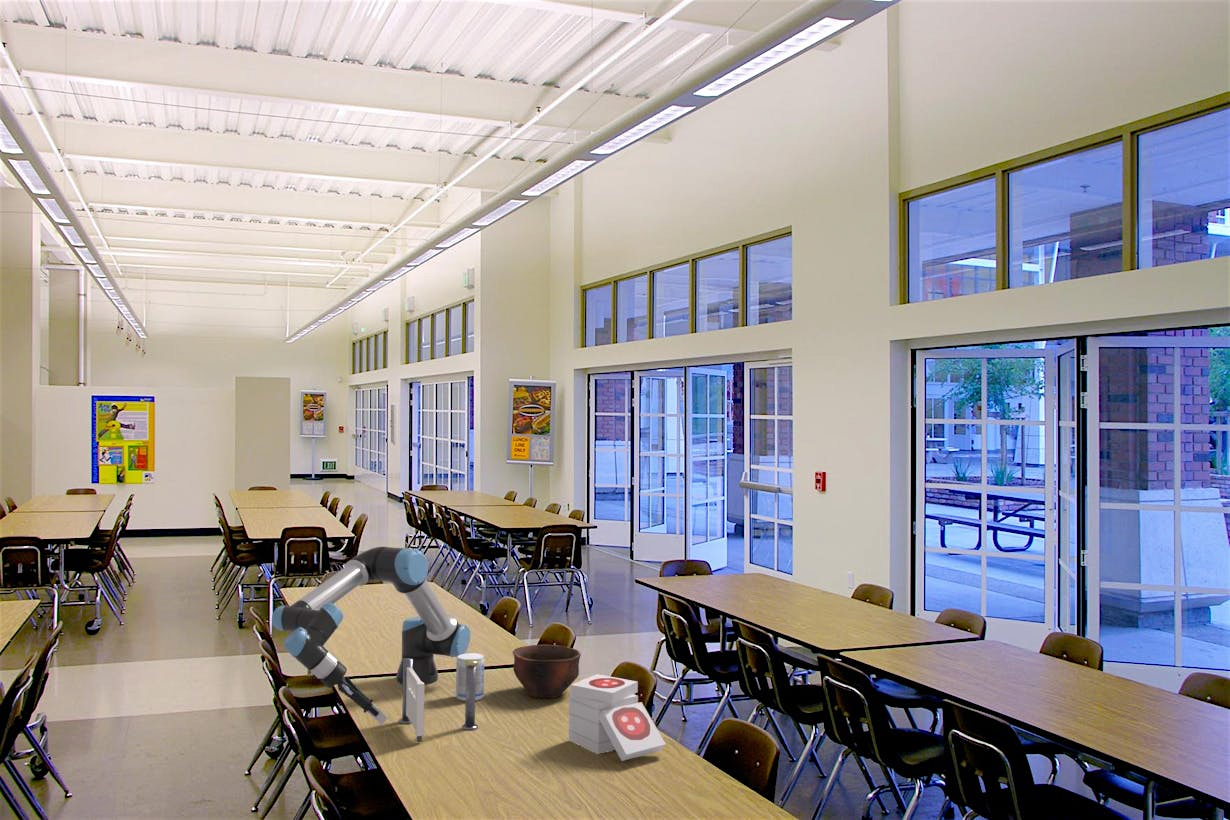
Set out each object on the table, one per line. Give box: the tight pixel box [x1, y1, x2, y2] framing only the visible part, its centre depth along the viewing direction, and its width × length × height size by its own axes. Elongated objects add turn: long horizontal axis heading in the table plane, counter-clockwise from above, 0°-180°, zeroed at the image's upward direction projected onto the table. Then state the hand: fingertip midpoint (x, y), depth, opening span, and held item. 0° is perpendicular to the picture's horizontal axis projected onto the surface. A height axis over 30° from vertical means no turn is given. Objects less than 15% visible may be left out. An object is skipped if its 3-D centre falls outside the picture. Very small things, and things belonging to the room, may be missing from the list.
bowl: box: [512, 644, 582, 699], centre depth 339 cm, size 25×25×15 cm
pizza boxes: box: [568, 673, 667, 762], centre depth 285 cm, size 19×30×18 cm, turn 38°
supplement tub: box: [455, 652, 485, 702], centre depth 332 cm, size 10×10×15 cm
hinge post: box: [398, 658, 413, 725], centre depth 305 cm, size 5×5×20 cm
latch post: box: [461, 660, 479, 731], centre depth 300 cm, size 5×5×21 cm
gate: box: [406, 667, 425, 743], centre depth 293 cm, size 20×2×18 cm, turn 22°
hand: (384, 720), depth 289 cm, fingers closed
